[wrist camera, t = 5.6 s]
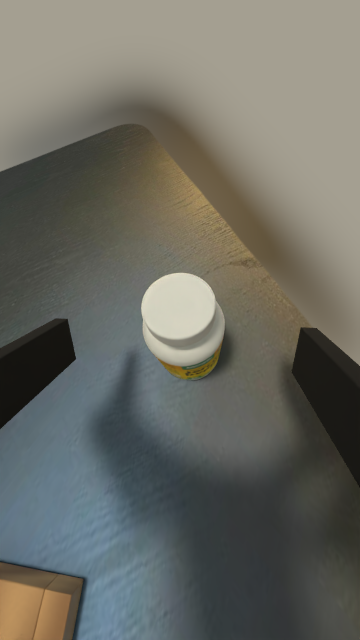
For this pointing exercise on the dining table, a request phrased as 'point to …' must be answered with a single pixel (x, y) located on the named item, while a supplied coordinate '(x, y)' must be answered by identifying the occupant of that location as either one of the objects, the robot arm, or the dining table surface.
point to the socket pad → (37, 604)
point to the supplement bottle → (183, 325)
